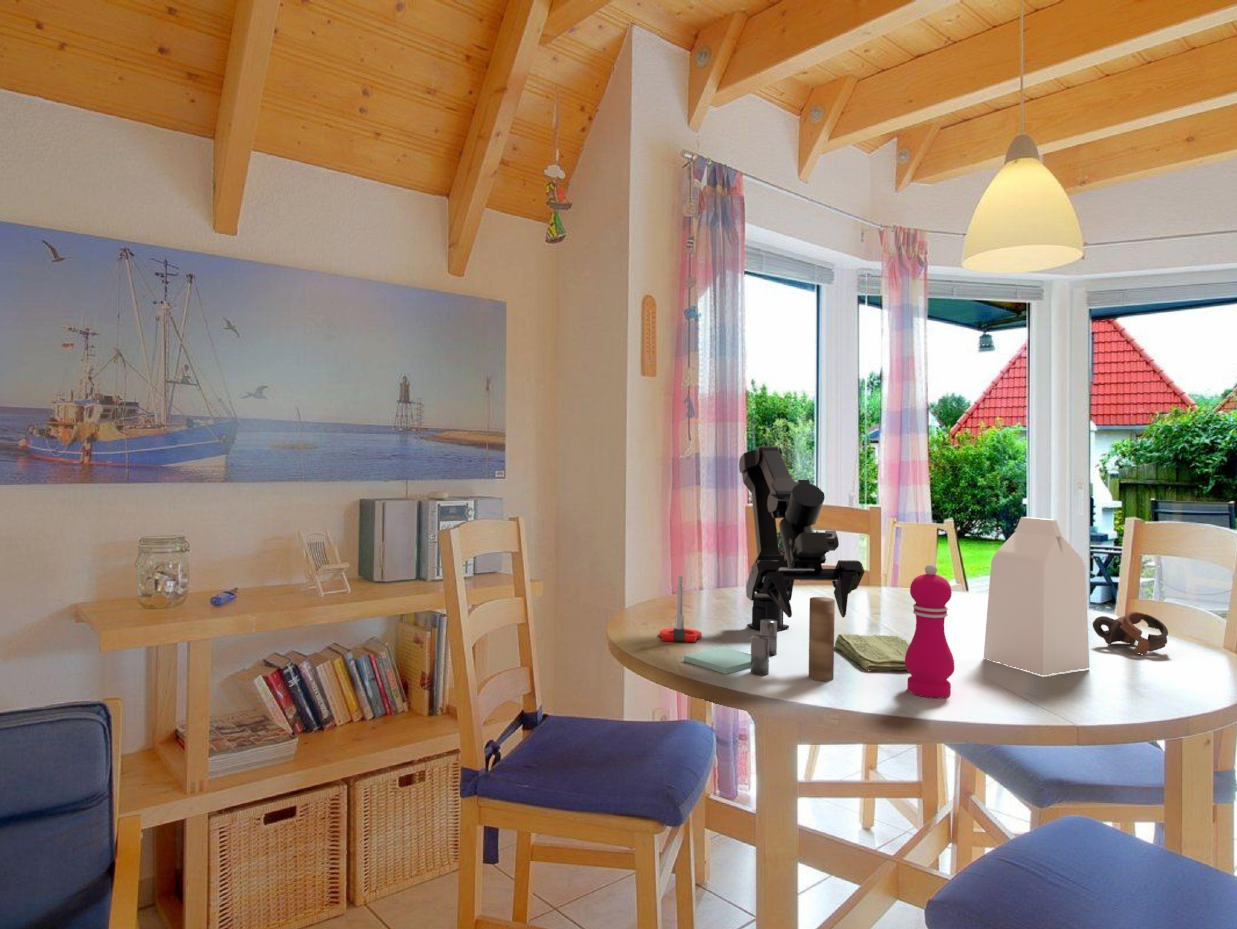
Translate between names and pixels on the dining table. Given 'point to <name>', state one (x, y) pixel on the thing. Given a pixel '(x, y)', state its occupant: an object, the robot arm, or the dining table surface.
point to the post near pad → (759, 655)
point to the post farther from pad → (770, 634)
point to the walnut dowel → (821, 638)
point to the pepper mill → (930, 637)
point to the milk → (1037, 602)
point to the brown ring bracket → (1132, 631)
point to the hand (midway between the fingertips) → (817, 616)
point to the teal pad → (720, 659)
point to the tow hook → (680, 623)
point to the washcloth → (874, 651)
